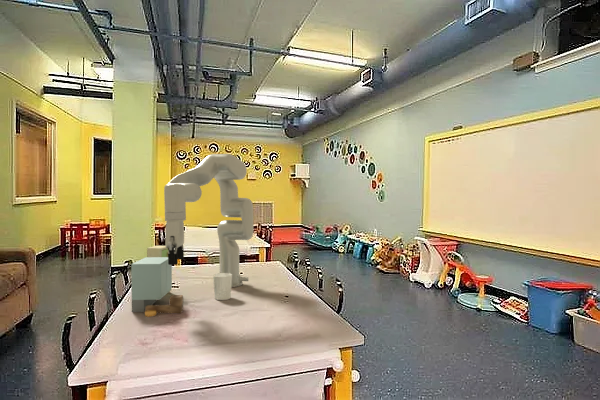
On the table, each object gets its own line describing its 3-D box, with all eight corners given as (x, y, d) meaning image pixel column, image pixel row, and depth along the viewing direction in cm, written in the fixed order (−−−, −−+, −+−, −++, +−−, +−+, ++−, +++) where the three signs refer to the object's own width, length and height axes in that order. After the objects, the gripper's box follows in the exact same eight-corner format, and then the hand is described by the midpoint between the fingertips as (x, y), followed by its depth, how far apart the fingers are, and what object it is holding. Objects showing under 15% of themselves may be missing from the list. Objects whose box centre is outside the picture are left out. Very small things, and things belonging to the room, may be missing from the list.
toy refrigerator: (162, 296, 172) (161, 248, 172) (146, 295, 174) (146, 247, 173) (171, 292, 180) (171, 245, 180) (156, 291, 182) (156, 245, 181)
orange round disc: (158, 313, 148) (158, 309, 148) (154, 317, 144) (153, 313, 144) (147, 314, 148) (147, 309, 148) (143, 317, 144) (142, 313, 144)
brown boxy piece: (182, 310, 152) (182, 294, 151) (180, 313, 148) (180, 297, 148) (147, 311, 151) (147, 295, 151) (144, 314, 147) (144, 297, 147)
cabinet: (171, 300, 166) (171, 257, 166) (160, 311, 150) (160, 263, 150) (145, 300, 166) (145, 257, 166) (131, 311, 150) (131, 264, 150)
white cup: (235, 297, 172) (235, 273, 171) (224, 301, 164) (224, 277, 164) (220, 295, 175) (220, 272, 175) (209, 299, 168) (209, 275, 168)
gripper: (171, 214, 158) (172, 257, 159) (158, 218, 141) (159, 266, 141) (190, 214, 158) (191, 257, 159) (180, 218, 141) (181, 266, 142)
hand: (176, 261), depth 150 cm, fingers open, 9 cm apart
